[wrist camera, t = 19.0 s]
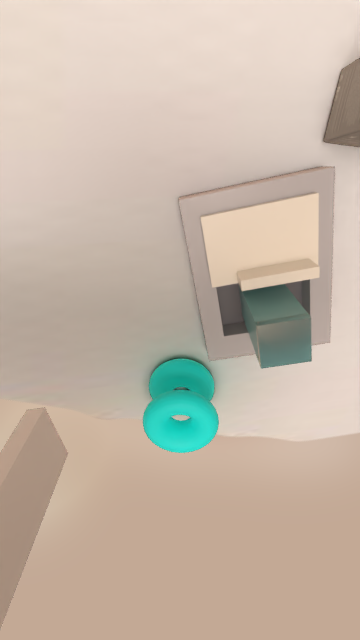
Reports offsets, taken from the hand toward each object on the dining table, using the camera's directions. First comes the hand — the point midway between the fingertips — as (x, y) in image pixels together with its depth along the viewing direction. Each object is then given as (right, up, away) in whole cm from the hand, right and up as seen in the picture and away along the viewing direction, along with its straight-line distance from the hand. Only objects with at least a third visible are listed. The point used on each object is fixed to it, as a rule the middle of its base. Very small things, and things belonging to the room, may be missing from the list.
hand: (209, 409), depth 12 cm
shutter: (+8, +12, +22) cm, 26 cm away
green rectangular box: (+9, +7, +28) cm, 30 cm away
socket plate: (+9, +10, +27) cm, 30 cm away
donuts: (-1, -6, +36) cm, 36 cm away
